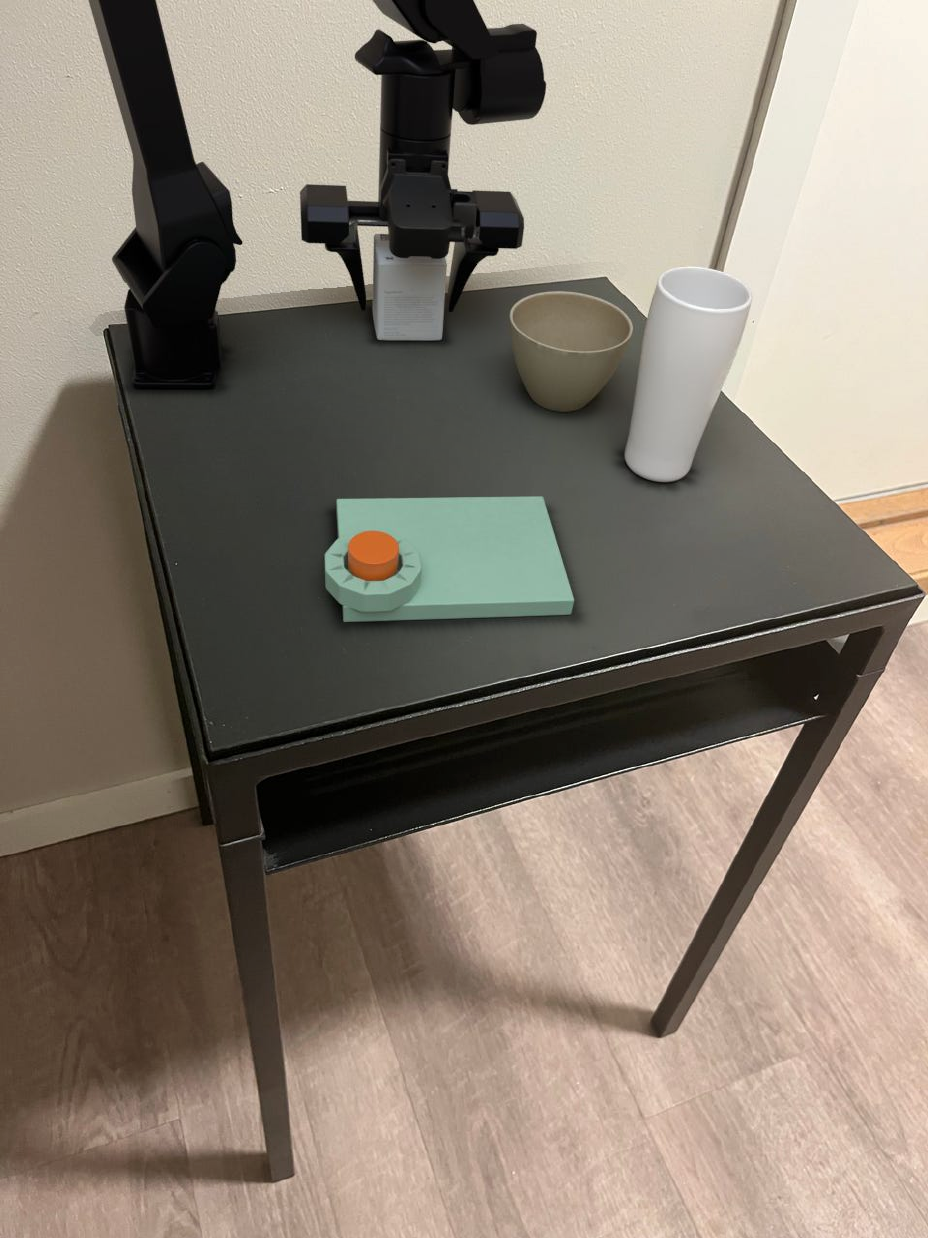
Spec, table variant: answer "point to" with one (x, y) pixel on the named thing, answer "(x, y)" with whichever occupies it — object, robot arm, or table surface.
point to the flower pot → (567, 346)
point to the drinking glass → (683, 367)
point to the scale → (452, 559)
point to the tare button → (373, 555)
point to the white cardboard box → (407, 294)
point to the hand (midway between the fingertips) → (406, 309)
